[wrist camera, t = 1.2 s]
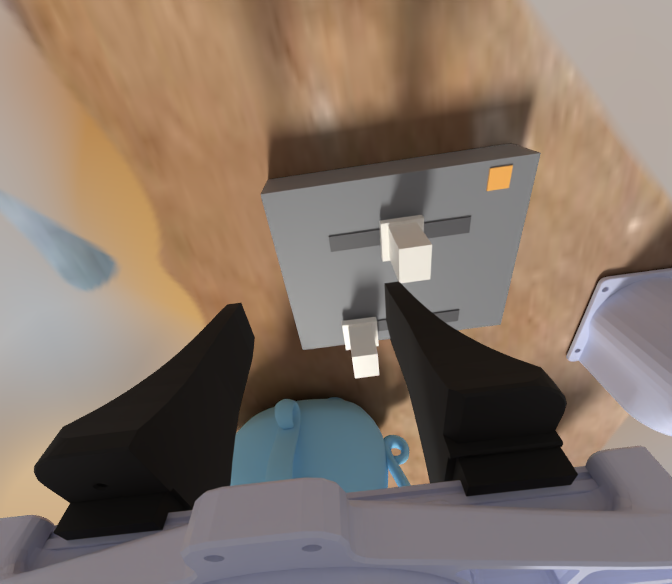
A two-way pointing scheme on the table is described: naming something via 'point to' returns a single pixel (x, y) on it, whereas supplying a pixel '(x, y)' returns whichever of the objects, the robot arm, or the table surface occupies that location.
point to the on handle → (362, 345)
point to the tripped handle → (406, 248)
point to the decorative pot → (317, 446)
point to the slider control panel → (396, 202)
